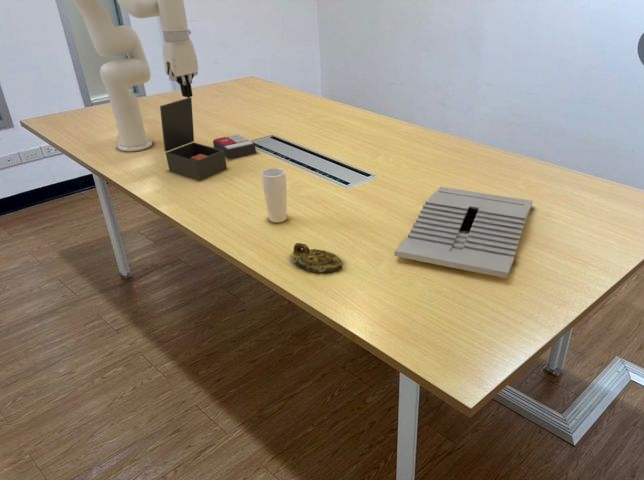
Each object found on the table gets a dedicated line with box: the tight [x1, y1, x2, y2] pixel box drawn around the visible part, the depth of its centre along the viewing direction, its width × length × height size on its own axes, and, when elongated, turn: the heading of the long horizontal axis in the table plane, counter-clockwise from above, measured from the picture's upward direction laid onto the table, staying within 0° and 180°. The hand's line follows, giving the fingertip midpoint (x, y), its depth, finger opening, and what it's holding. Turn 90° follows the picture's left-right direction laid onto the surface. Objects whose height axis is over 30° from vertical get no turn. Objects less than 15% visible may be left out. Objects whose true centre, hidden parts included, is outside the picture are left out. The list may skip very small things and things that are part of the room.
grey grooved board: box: [394, 186, 533, 279], centre depth 157 cm, size 44×29×4 cm, turn 162°
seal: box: [292, 242, 343, 274], centre depth 144 cm, size 9×5×15 cm
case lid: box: [159, 97, 195, 153], centre depth 191 cm, size 16×13×1 cm
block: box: [191, 154, 207, 161], centre depth 194 cm, size 4×4×4 cm
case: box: [165, 141, 228, 182], centre depth 195 cm, size 16×13×7 cm
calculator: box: [212, 133, 257, 160], centre depth 211 cm, size 11×4×15 cm
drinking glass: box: [260, 167, 288, 224], centre depth 161 cm, size 7×7×15 cm
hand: (187, 96), depth 181 cm, fingers closed
